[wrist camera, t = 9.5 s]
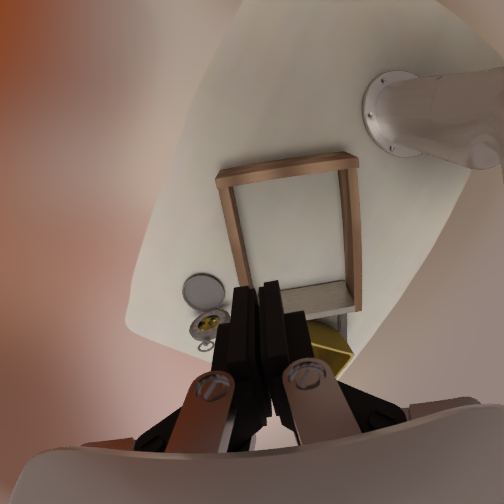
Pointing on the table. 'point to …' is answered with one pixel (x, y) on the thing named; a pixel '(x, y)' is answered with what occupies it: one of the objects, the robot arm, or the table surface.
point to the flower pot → (329, 346)
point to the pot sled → (320, 302)
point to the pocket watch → (205, 307)
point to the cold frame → (296, 167)
